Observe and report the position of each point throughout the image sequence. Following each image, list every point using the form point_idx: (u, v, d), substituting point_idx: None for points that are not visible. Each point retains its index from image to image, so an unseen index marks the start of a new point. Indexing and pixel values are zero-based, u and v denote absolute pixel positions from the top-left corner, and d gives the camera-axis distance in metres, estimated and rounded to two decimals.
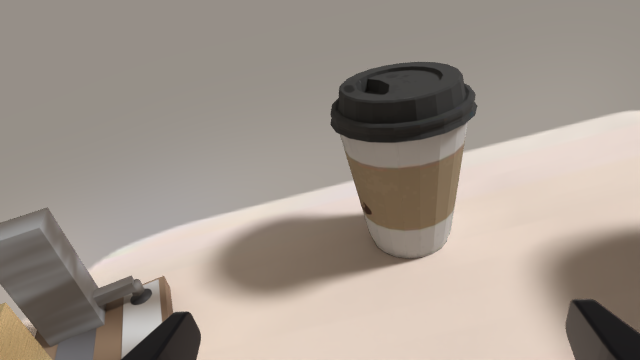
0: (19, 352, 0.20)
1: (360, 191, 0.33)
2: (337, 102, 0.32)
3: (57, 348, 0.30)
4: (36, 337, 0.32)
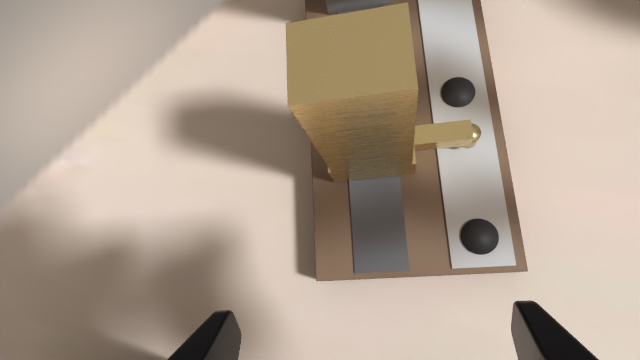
0: None
1: None
2: None
3: None
4: None
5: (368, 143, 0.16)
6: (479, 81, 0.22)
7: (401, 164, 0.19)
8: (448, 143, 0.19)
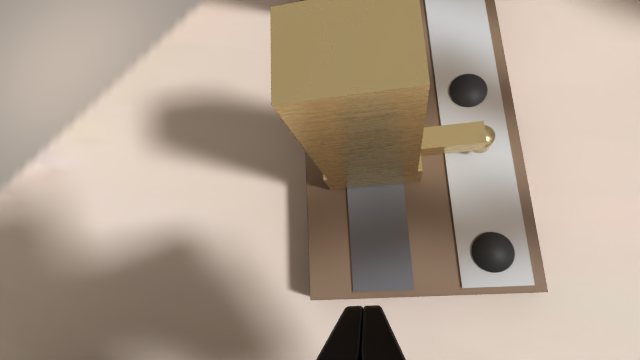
0: None
1: None
2: None
3: None
4: None
5: (368, 149, 0.14)
6: (492, 79, 0.20)
7: (405, 172, 0.17)
8: (457, 148, 0.17)
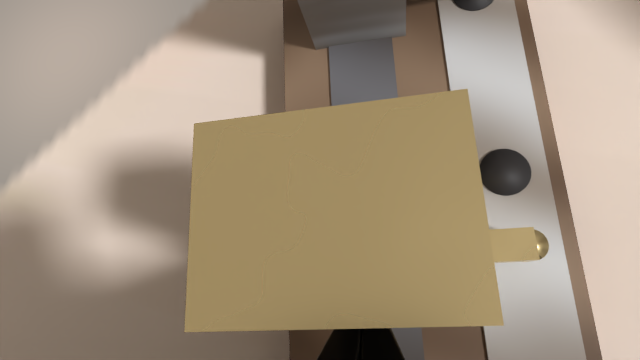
0: None
1: None
2: None
3: (329, 57, 0.17)
4: (285, 19, 0.18)
5: None
6: (536, 156, 0.15)
7: None
8: (496, 262, 0.12)
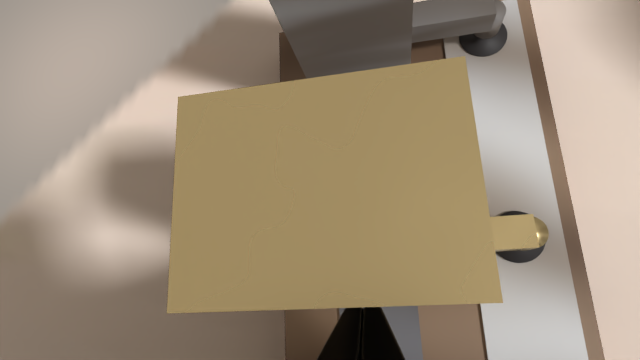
0: None
1: None
2: None
3: None
4: (282, 60, 0.17)
5: None
6: (551, 220, 0.14)
7: None
8: (495, 250, 0.12)
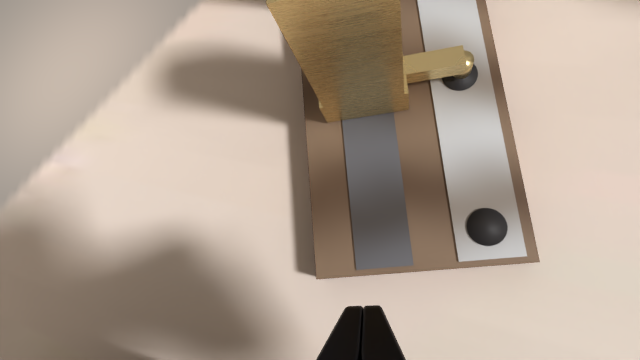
0: None
1: None
2: None
3: None
4: None
5: (356, 62, 0.16)
6: (482, 62, 0.20)
7: (393, 95, 0.19)
8: (440, 72, 0.19)
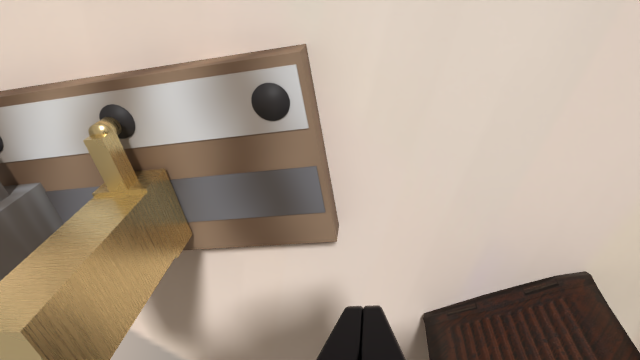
0: (32, 284, 0.14)
1: None
2: None
3: None
4: None
5: (121, 274, 0.17)
6: (98, 98, 0.19)
7: (151, 200, 0.19)
8: (117, 156, 0.18)
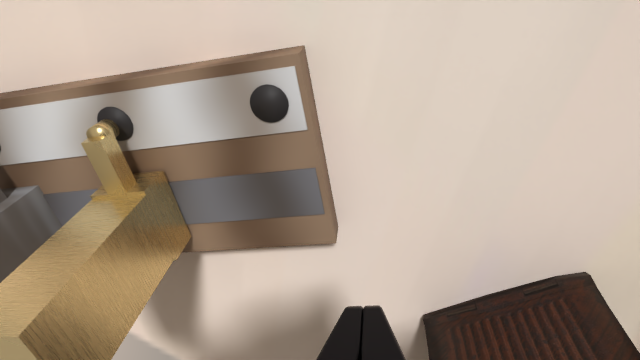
0: (30, 288, 0.14)
1: None
2: None
3: None
4: None
5: (120, 277, 0.17)
6: (96, 100, 0.19)
7: (149, 203, 0.19)
8: (115, 159, 0.18)
